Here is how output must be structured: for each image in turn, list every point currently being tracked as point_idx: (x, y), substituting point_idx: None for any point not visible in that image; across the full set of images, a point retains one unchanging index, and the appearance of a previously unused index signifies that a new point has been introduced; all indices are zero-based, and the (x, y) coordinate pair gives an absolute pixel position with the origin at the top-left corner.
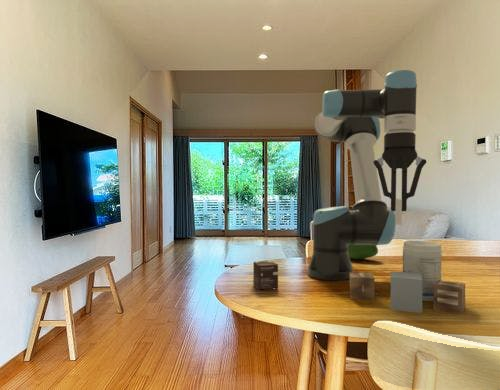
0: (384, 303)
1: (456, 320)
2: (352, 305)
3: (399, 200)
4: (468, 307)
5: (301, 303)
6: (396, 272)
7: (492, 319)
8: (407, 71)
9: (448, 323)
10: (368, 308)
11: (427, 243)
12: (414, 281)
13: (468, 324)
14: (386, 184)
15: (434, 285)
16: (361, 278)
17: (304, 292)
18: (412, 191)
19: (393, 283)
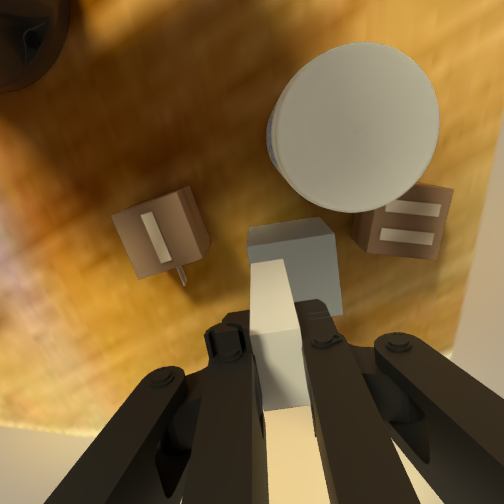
0: (238, 252)
1: (394, 296)
2: (176, 304)
3: (292, 401)
4: (430, 181)
5: (72, 346)
6: (265, 258)
7: (468, 252)
8: None
9: (377, 322)
10: (214, 308)
11: (382, 125)
12: None
13: (415, 309)
14: (136, 456)
15: (367, 252)
16: (167, 269)
17: (29, 260)
18: (418, 439)
19: None
